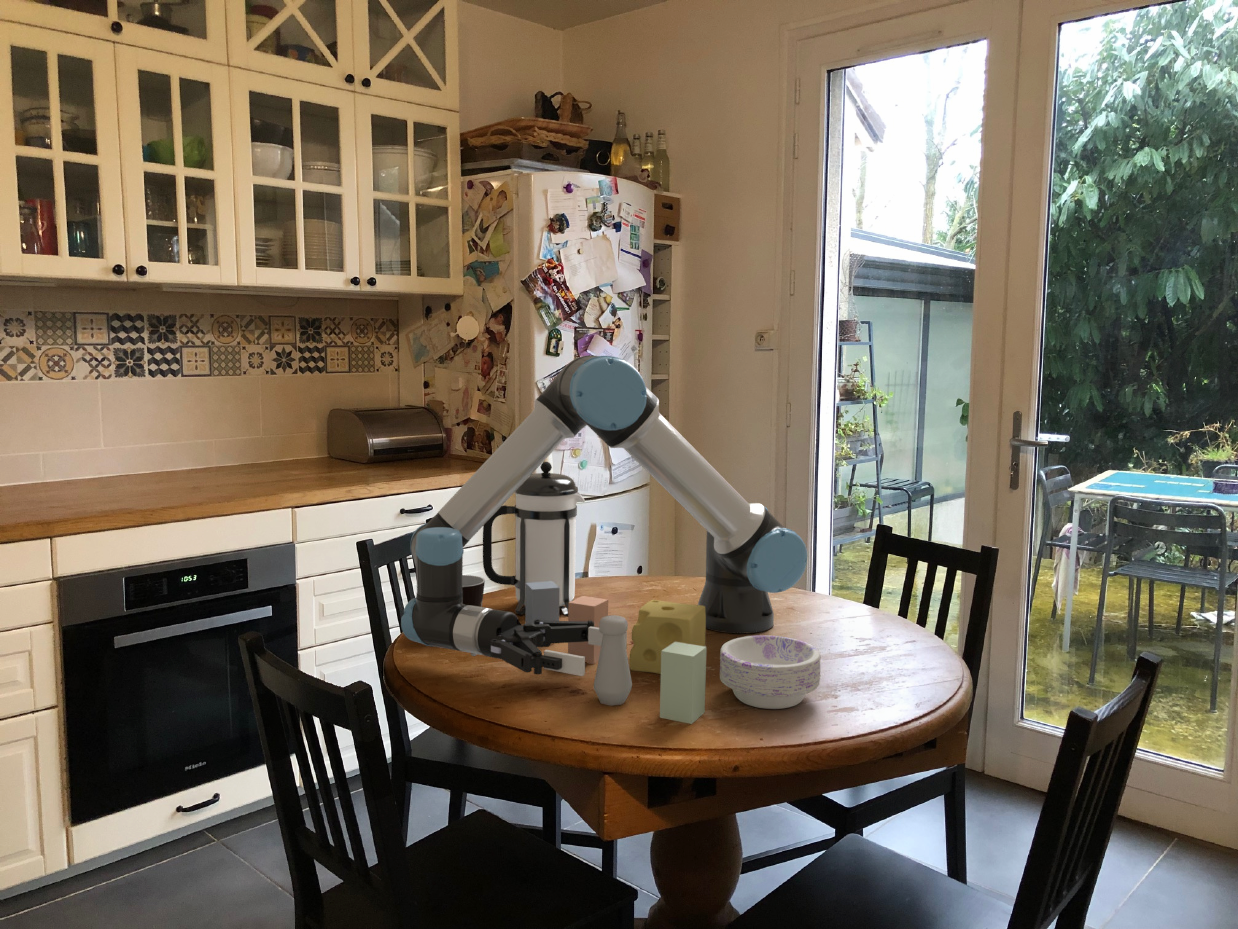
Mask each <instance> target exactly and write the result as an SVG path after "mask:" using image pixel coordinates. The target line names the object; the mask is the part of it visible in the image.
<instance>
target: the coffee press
mask: <svg viewBox="0 0 1238 929" xmlns="http://www.w3.org/2000/svg"><path fill="white" fill-rule="evenodd" d="M539 467H540V469H541V472H538V473H532V474H531V475H530V476H529V477H528V479H527V480H526V481H525V482H524V483H523V484H522V485H521V486H520V487H519V488H518V489H517V490H516V491H515V492H514V494H515V505H514V506H512V505H507V504H505V505H504V504H503V505H502V506H501V507H500V508H499V509H498V510H497V512H496V513H495V514H494V515H493V516H492V517H491V518H490V519H489V520H488V521H487V522H486V523H485V524H484V525H483V526H482V565H483V571H484V573H485V576H486V577H487V578H488V579H489V580H490V581H491V582H493V583H495V584H499V585H505V586H506V585H508V586H514V587H515V598H516V600H517V602H518V603H517V605H516V608H515V610H514V612H515V614H517V615H521V616H524V615H526V583H531V582H546V581H553V582H554V583H555V584H556V585H557V586H558V587H559V610H561V612H562V614H563V615H564V616H568V608H569V602H571V601H573V600H575V599H574V598H575V591H576V520H577V519H576V518H577V517H576V516H577V514H578V506H577V503H584V502H586V500H585V498H584V497H583V496H582V494H581V493H580V492H579V488H578V486H577V485H576V482H575V480H574V479H573V478H571V476H569V475H565V474H561V473H554V472H553V473H551V470H552V469H553V467H552V464H551V463H550V462H549V461H543V463H542V464H541V465H540V466H539ZM504 515H514V516H515V575H501V574H498V573H497V572H496V571H495V570H494V568H493V559H492V558H493V554H492V552H493V549H492V547H493V545H492V544H493V541H492V540H493V535H492V534H493V525H494V524H493V523H494V521H495V520H496V519H497V517H499V516H500V517H501V516H504Z"/></svg>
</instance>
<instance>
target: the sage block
mask: <svg viewBox="0 0 1238 929" xmlns="http://www.w3.org/2000/svg"><path fill="white" fill-rule="evenodd" d="M706 674H707V646H705V647H704V646H698V645H692V644H686V643H680V642H674V643H672V644H671V645H669V646H668V647H666V648H665V649H663V650H662V651H661V674H660V690H659V691H660V694H659V718H661V719H666V720H671V721H674V722H679V723H684V724H690V725H692V724H694V723H695V722H696V721H697V720H698V719H699V718H700V717H702V715H703V714H705V710H706V709H705V708H706V707H705V706H706V681H707V680H706Z"/></svg>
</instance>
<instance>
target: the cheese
mask: <svg viewBox="0 0 1238 929" xmlns="http://www.w3.org/2000/svg"><path fill="white" fill-rule="evenodd" d="M637 618H638V619H637V622H636V623H634V625H633V627H632V628H631V641H632V644H633V645H632V647H631V649H630V651H629V657H628V658H629V659H628V663H629V669H630V671H635V672H643V673H644V672H645V673H651V674H659V675H661V651H662V650H663V649H665V648H666V647H668V646H669V645H671V644H672V643H674V642H680V643H686V644H692V645H698V646H704V647H706V630H707V628H706V614H705V606H701V605H698V604H694V603H693V604H692V603H682V602H681V603H680V602H672V601H664V600H658V599H651V600H649V601H648V602H646V603H645V604H643V606H640V608H639V610H638V617H637Z"/></svg>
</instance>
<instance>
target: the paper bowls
mask: <svg viewBox="0 0 1238 929" xmlns="http://www.w3.org/2000/svg"><path fill="white" fill-rule="evenodd" d="M719 650H720V654H719V660H720V661H719V663H720V665H719V666H720V667H719V680H720V681H721V683H722V684H723V685H725V686H726V687H728V688H729V689H732V692H733V694H734V696H735V698H737V700H739V701H740V702H742V703H743V704H746V705H748V706H751V707H755V708H758V709H768V710H780V709H781V710H782V709H788V708H792V707H794V706H797V705H799V704H800V703H802V701H803V700H804V699H805V697H806V695H807V694H809V693H811V692H814V691H815V690H816V689H817V688H818V687H819V685H820V682H821V659H822V657H821V652H820V650H819V649H818V648H817V647H816V646H815V645H812V644H811V643H809V642H806V641H804V640H801V639H796V638H793V637H786V636H779V635H769V634H767V635H765V634H764V635H763V634H762V635H761V634H759V635H746V636H741V637H737V638H733V639H730V640H729V641H727V642H725V643H723V645H722V646H721V648H720V649H719Z"/></svg>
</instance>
